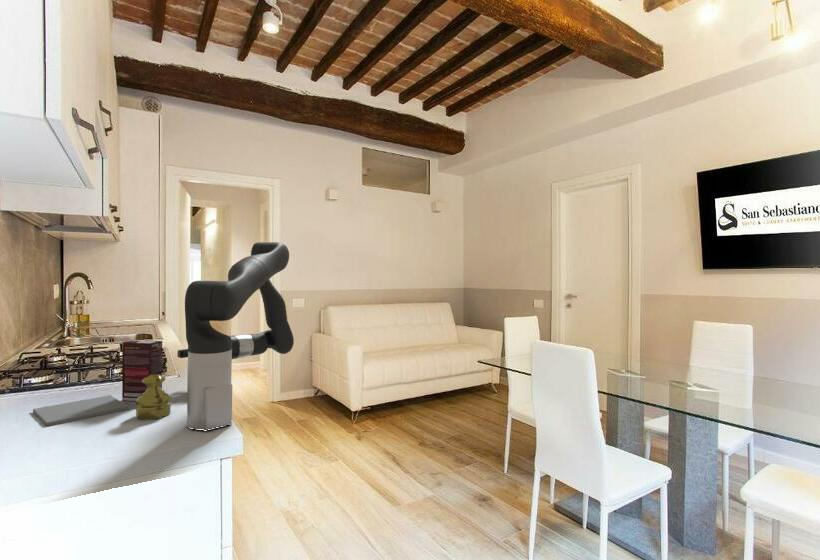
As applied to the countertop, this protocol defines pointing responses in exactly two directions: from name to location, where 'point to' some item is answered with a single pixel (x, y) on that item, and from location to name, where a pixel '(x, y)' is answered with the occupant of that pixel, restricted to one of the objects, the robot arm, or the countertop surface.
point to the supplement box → (139, 366)
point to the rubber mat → (79, 410)
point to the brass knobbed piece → (153, 399)
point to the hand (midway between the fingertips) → (178, 354)
